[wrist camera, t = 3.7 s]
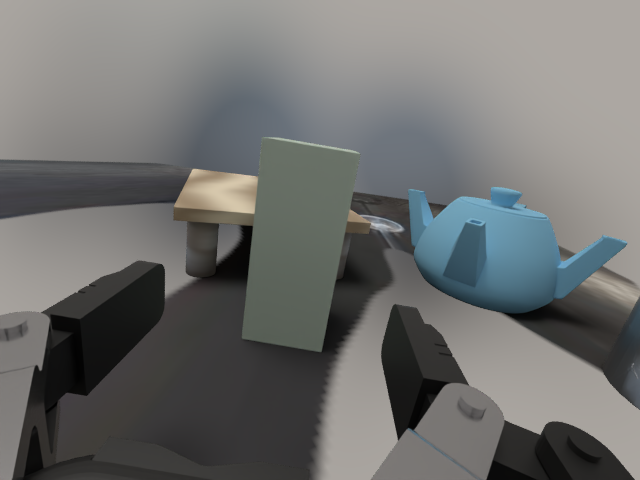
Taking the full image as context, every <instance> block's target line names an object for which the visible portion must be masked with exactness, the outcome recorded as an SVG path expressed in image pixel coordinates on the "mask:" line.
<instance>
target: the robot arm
mask: <svg viewBox="0 0 640 480" xmlns="http://www.w3.org/2000/svg"><path fill="white" fill-rule="evenodd" d="M164 304H165V269H164V267H163V265H162V264H157V263H152V262H146V261H137V262H135V263H133V264H131V265H130V266H128V267H126V268H125V269H123V270H121V271H120V272H116V273H113V274H110V275H107V276H103V277H101V278H99V279H98V280H96V281H95V282H93V283H91V284H89V286H86V287H84V288H82V289H81V290H79V291H78V293H74V294H72V295H70V296H69V297H67V298H65V299H64V300H62V301H60V302H58V303H57V304H55V305H53V306H52V307H50V308H48V309H47V310H45V311H43V312H41V313H39V312H15V313H9V314H5V315H1V316H0V480H309V470H308V469H302V468H296V467H290V466H284V465H278V464H272V463H266V462H250V463H239V464H228V465H218V466H202V465H200V464H197V463H195V462H193V461H191V460H189V459H187V458H185V457H183V456H181V455H179V454H177V453H175V452H173V451H171V450H169V449H167V448H165V447H163V446H161V445H158V444H152V443H146V442H140V441H134V440H128V439H122V438H116V437H110V436H109V438H108V439H107V440H106V442H105V443H104V444H103V446H102V447H101V448H100V450H99V451H98V452H97V453H96V455H89V456H84V457H78V458H74V459H70V460H67V461H63V462H59V463H57V464H56V452H57V441H58V429H59V418H60V401H59V399H60V398H61V397H62V396H63V395H64V394H65V393H73V394H79V395H85V396H87V395H88V394H89V393H90V392H91V391H92V390H93V389H94V388H95V387H96V386H97V385H98V384H99V383H100V381H101V380H102V379H103V378H104V377H105V376H106V375H107V374H108V373H109V372H110V371H111V370H112V369H113V368H114V367H115V366H116V365H117V364H118V363H119V362H120V361H121V360H122V359H123V358H124V357H125V356H126V355H127V354H128V353H129V352H130V351H131V350H132V349H133V348H134V347H135V346H136V345H137V343H138V342H139V341H140V340H141V339H142V338H143V337H144V336H145V335H146V334H147V333H148V332H149V331H150V330H151V329H152V328H153V327H154V326H155V325H156V324H157V323H158V322H159V320H160V318H161V316H162V314H163V311H164ZM381 354H382V355H381V358H382V365H383V370H384V375H385V379H386V384H387V389H388V393H389V399H390V403H391V408H392V412H393V417H394V423H395V427H396V432H397V437H398V442H397V444H396V445H395V447H394V448H393V449H392V451H391V452H390V453H389V455H388V456H387V458H386V459H385V461H384V462H383V463H382V465H381V466H380V468H379V469H378V470H377V472H376V473H375V475H374V476H373V478H372V479H371V480H635V479H634V478H633V477H632V476H631V475H630V473H629V472H628V471H627V470H626V469H625V467H624V466H623V465H622V464H621V463H620V461H619V460H618V459H617V458H616V457H615V455H613V453H612V452H611V451H610V450H609V449H608V448H607V447H606V446H604V445H603V444H602V443H601V442H599V441H598V440H597V439H595V438H594V437H593V436H591V435H589V434H588V433H586V432H584V431H582V430H581V429H579V428H577V427H574V426H572V425H569V424H566V423H563V422H549V423H548V424H546V425H545V427H544V429H543V431H542V433H541V435H539V434H537V433H534V432H532V431H529V430H527V429H524V428H522V427H519V426H517V425H514V424H512V423H509V422H508V421H505V420H504V416H503V413H502V412H501V410H500V408H499V407H498V406H497V404H496V403H495V402H494V401H493V400H492V399H491V398H489V397H488V396H487V395H486V394H484V393H483V392H481V391H479V390H477V389H475V388H473V387H471V386H469V384H468V383H467V381H466V379H465V377H464V375H463V373H462V371H461V369H460V368H459V366H458V364H457V362H456V360H455V359H454V357H452V353H451V351H450V350H449V348H447V344H446V342H445V340H444V338H443V336H442V335H441V334H440V333H439V332H438V331H437V330H436V329H435V328H434V327H432V326H431V325H429V324H424V322H423V319H422V318H421V316H420V313H419V311H418V309H417V308H414V307H408V306H402V305H396V304H395V305H393V307H392V310H391V313H390V318H389V321H388V324H387V328H386V332H385V336H384V340H383V344H382V351H381ZM602 368H603V372H604V375H605V376H606V378H607V379H608V381H609V382H610V384H612V386H613V387H614V388H615V389H616V390H617V391H618V392H619V393H620V394H621V395H622V396H624V397H625V398H626V399H627V400H628V401H629V402H630V403H632V404H633V405H634V406H635V407H637V408H638V409H639V410H640V297H639V298H638V300H637V302H636V304H635V306H634V308H633V310H632V312H631V313H630V315H629V317H628V319H627V320H626V322H625V324H624V326H623V328H622V330H621V332H620V334H619V336H618V337H617V339H616V341H615V343H614V345H613V347H612V349H611V351H610V353H609V355H608V357H607V358H606V360H605V362H604V364H603V367H602Z"/></svg>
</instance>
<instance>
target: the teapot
mask: <svg viewBox="0 0 640 480" xmlns="http://www.w3.org/2000/svg"><path fill="white" fill-rule="evenodd" d="M408 195H409V210H410V225H411V240H412V245H413V246H414V247H415V251H414V260H415V262H416V264H417V266H418V269H419V271H420V272H421V274H422V276H423V278H424V279H425V280H426V281H427V282H428V283H429V284H431V285H432V286H433V287H435V288H436V289H438V290H440V291H441V292H443V293H445V294H447V295H449V296H451V297H453V298H455V299H458V300H460V301H463V302H465V303H468V304H471V305H473V306H476V307H480V308H483V309H487V310H491V311H496V312H504V313H526V312H529V311H532V310H535V309H538V308H540V307H542V306H545V305H547V304H548V303H550V302H551V301H552V300H553V299H554V298H557V299H563V298H564V297H565V296H566V295H567V294H569V293H570V292H571V291H572V290H573V289H575V288H576V287H577V286H578V285H580V284H581V283H582V282H583V281H584V280H586V279H587V278H588V277H589V276H590V275H592V274H593V273H594V272H595V271H596V270H598V269H599V268H600V267H601V266H602V265H603V264H605V263H606V262H607V261H608V260H610V259H611V258H612V257H613V256H614V255H616V254H617V253H618V252H619V251H621V250H622V249H623V248H624V247H625V246H626V245H627V242H626V241H623V240H620V239H616V238H612V237H608V236H605V235H603V236H602V238H601V239H599V240H597V241H596V242H594V243H593V244H591V245H590V246H588V247H586V248H585V249H583V250H582V251H580V252H579V253H577V254H576V255H574V256H572V257H571V258H569V259H568V260H566V261H565V262H564V261H561V260H560V254H559V248H558V245H557V241H556V237H555V234H554V231H553V228H552V225H551V223H550V220H549V218H548V217H547V216H546V215H544V214H542V213H539V212H536V211H533V210H529V209H526V205H522V204H518V203H516V202H517V200H519V198H520V197H521V196H522V193H521V192H518V191H515V190H511V189H506V188H500V187H492V188H491V200H486V199H480V198H473V197H460V198H458V199H456V200H455V201H453V202H452V203H451V204H450V205H448V206H447V207H446V208H445V209H444V210H443V211H442V212H441V213H440V214H439V215H438V216H436V217H435V218H434V219H433V216H432V213H431V210H430V208H429V205H428V202H427V199H426V196H425V192H422V191H418V190H413V189H412V190H410V189H409V191H408Z"/></svg>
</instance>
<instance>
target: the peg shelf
mask: <svg viewBox="0 0 640 480" xmlns="http://www.w3.org/2000/svg"><path fill="white" fill-rule="evenodd" d="M257 183H258V177H257V176H248V175H240V174H232V173H224V172H215V171H207V170H199V169H193V170H192V172H191V174H190V176H189V178H188V180H187V182H186V184H185V186H184V188H183V190H182V192H181V194H180V196H179V198H178V200H177V202H176V204H175V206H174V220H177V221H187V222H188V223H187V249H186V273H187V274H188V275H190V276H193V277H209V276H212V275H214V274H215V272H216V258H217V242H218V228H219V223H220V224H234V225H248V226H253V223H254V213H255V203H256V193H257ZM370 225H371V223H370V222H368V221H367V220H365V219H364V218H362V217H361V216H359V215H358V214H356V213H355V212H353V211H352V210H349V215H348V220H347V225H346V230H345V235H344V240H343V245H342V250H341V256H340V261H339V266H338V271H337V276H336V280H337V279H341V278H343V274H344V269H345V264H346V259H347V254H348V249H349V245H350V240H351V235H352V233H363V234H369V229H370Z"/></svg>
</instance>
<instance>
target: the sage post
mask: <svg viewBox="0 0 640 480" xmlns="http://www.w3.org/2000/svg"><path fill="white" fill-rule="evenodd" d="M359 158H360V154H359V153H358V152H356V151H352V150H347V149H341V148H335V147H329V146H324V145H318V144H312V143H305V142H300V141H294V140H288V139H283V138H271V137H270V138H269V137H262V144H261V154H260V165H259V174H258V183H257V193H256V203H255V213H254V223H253V233H252V243H251V252H250V262H249V272H248V282H247V292H246V302H245V311H244V321H243V331H242V339H246V340H252V341H258V342H264V343H270V344H276V345H282V346H287V347H293V348H299V349H305V350H311V351H317V352H322V347H323V342H324V337H325V332H326V327H327V322H328V316H329V311H330V306H331V301H332V296H333V291H334V286H335V281H336V276H337V271H338V266H339V261H340V256H341V250H342V245H343V240H344V235H345V230H346V225H347V220H348V215H349V210H350V205H351V200H352V195H353V189H354V184H355V179H356V173H357V169H358V164H359Z"/></svg>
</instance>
